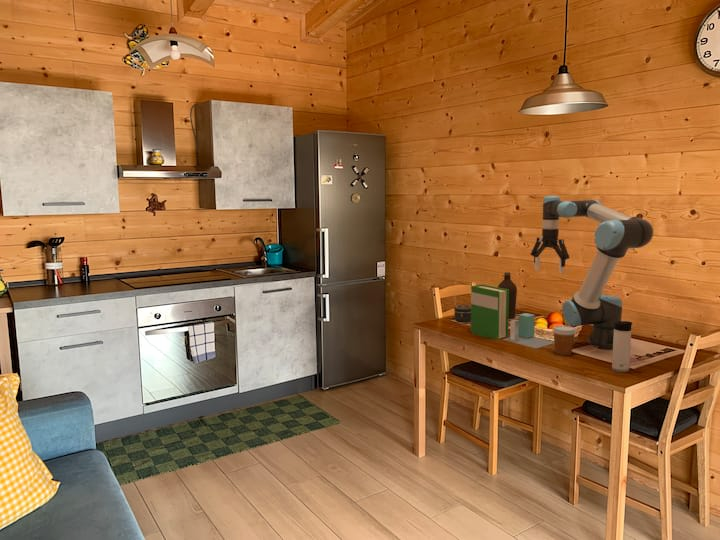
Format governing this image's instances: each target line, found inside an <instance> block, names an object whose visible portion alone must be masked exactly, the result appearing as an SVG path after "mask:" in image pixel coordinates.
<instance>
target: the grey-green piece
mask: <svg viewBox="0 0 720 540" xmlns="http://www.w3.org/2000/svg"><path fill="white" fill-rule="evenodd" d="M535 316H536V315H535V314H532V313H527V312H523V313H521V314H518V321H519V324H518V336H520V337H524V338H530V337H535V323H536V321H535V320H536V317H535Z"/></svg>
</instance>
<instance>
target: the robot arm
mask: <svg viewBox="0 0 720 540" xmlns="http://www.w3.org/2000/svg"><path fill="white" fill-rule="evenodd" d="M574 217H575V218H580V217H581V218H582V217H583V218H584V217H586V218H588V219H590V220H592V221H594V222H597V223H599V225H598V226H597V227H596V230H595V231H594V234H593V235H594V239H593V240H594V244H595V248H596V250H597V252H596V253H595V256H594V258H593V261H592V263H591V265H590V268H589V269H588V271H587V274H586V276H585V278H584V280H583V282H582V284H581V287H580V288H579V291H575V292H574V294H573V296H572V297H571V299H568V300H565V301H564V302H563V304H562V315H563V318H564V320H565V321H566V323H567V324H568V326H571V327H580V326H590V325H591V326H592V330H591V332H590V334H589V337H588V339H587V340H588V342H587V343H588V345H591V346H594V347H595V348H596V347H597V349H600V350H610V351H611V350H612V351H613V337H614V323H616V322H619V321H622V316H623V315H622V313H623V300H622V298H621V297H618V296H615V295H609V294H603V292H604V290H605V288H606V286H607V284H608V281H609V280H610V277H611V276H612V273H613V272H614V269H615V267H616V265H617V263H618V262H619V259H623V258H624V257H625V256H626V255H627V251H628V250H629V249H637V248H644V247H645V246H646V245H648V244H650V243H651V241H652V239H653V237H654V228H653V225H652V224H651V223H650V222H649V221H648V220H646V219H644V218H642V217H638V216H629V215H628V214H627V215H626V214H625V213H622V212H619V211H617V210H614V209H612V208H609V207H608V206H604V205H602V203H601V202H600V201H599V200H597V199H587V200H584V199H583V200H561V198H560V196H558V195H556V196H555V195H552V196H551V195H549V196H547V195H546V196H544V197H543V201H542V223H541V224H542V225H541V227H542V231H541V232H542V233H541V236H542V237H541V236H539V237H536V241H535V244H534V246H533V248H532V250H531V252H530V256H532V257H533V264H534V270H535V271H540V270H541V269H540V267H541V256H540V254H542V252H544V250H545V249H547V248H549V249H553V250H554V251H555V253H556V254H557V255H558V257H559V261H558V263H559V265H558V274H564V273H565V272H564V269H565V267H566V260H568V259H570V255H569V253H568V250H567V247H566V244H565V239H564V238H560V239H559V238H558V237H559V231H560V229H559V226H560V218H563V219H566V218H567V219H569V218H574Z"/></svg>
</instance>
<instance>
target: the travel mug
mask: <svg viewBox="0 0 720 540" xmlns="http://www.w3.org/2000/svg"><path fill="white" fill-rule="evenodd" d="M632 326H633V322H632V321H629V320H625V321H624V320H621V321H619V322H616V323H614V337H613V350H612V360H611V361H612V362H611V370H613V372H617V373H629V371H630V361H631V344H632Z"/></svg>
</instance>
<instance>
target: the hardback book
mask: <svg viewBox="0 0 720 540" xmlns="http://www.w3.org/2000/svg"><path fill="white" fill-rule="evenodd" d="M470 288H471V290H470V291H471V292H470V293H471V294H470V295H471V297H470V298H471V299H470V303H471V305H470V306H471V321H470V333H471V334H473V335H476V336H479V337H482V338H486V339H488V340H489V339H490V340H491V339H494V340H499V339H502V338H503V339H504V338H509V319H508V317H509V289H503V288H498V286H493V285H488V284H487V285H486V284H477V285H471V287H470Z"/></svg>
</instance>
